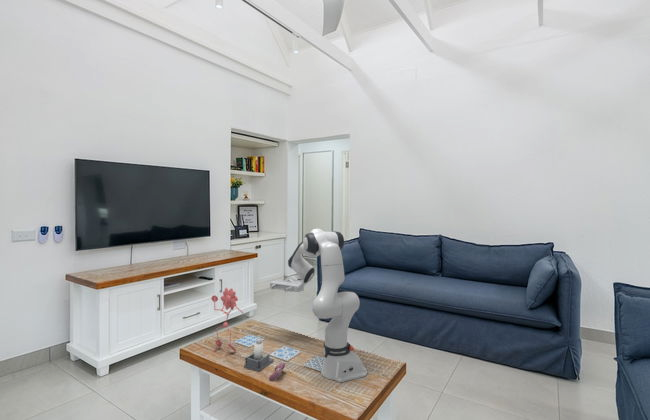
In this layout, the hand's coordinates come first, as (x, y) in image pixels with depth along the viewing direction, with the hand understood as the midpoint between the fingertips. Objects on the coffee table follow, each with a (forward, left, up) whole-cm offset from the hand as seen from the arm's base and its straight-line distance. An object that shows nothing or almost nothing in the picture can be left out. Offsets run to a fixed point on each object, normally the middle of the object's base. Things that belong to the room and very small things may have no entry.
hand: (278, 288), depth 185 cm
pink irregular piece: (+3, +30, -34) cm, 46 cm away
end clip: (+12, +17, -34) cm, 40 cm away
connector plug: (+12, +18, -33) cm, 39 cm away
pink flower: (+27, -4, -34) cm, 44 cm away
